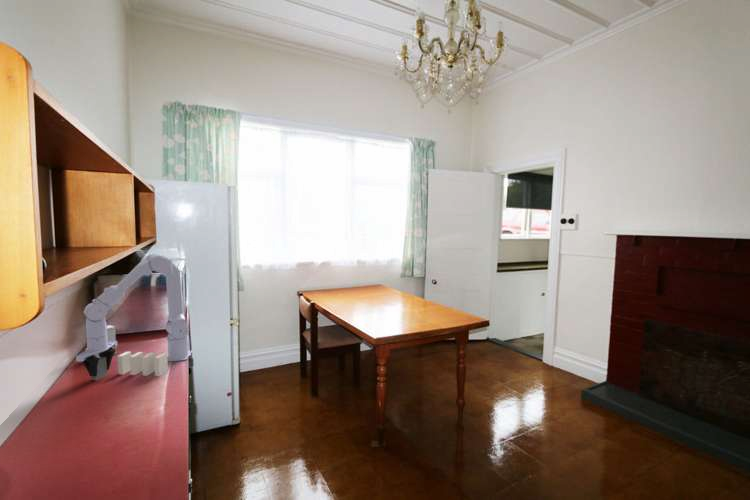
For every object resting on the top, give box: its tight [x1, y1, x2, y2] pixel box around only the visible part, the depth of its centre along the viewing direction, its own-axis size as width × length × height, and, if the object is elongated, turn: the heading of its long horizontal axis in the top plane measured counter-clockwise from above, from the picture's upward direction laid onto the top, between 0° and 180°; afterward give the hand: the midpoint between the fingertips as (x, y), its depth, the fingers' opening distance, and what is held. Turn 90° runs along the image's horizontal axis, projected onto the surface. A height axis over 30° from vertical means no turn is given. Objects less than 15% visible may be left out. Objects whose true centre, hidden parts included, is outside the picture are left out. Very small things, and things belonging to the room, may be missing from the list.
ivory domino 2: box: [129, 351, 144, 376], centre depth 126 cm, size 2×4×7 cm, turn 175°
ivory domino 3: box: [141, 352, 156, 377], centre depth 126 cm, size 2×4×7 cm, turn 175°
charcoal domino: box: [91, 357, 108, 382], centre depth 122 cm, size 2×4×7 cm, turn 175°
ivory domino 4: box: [154, 352, 169, 377], centre depth 126 cm, size 2×4×7 cm, turn 176°
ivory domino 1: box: [117, 351, 133, 376], centre depth 127 cm, size 2×4×7 cm, turn 175°
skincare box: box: [94, 324, 117, 358], centre depth 142 cm, size 6×4×12 cm
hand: (99, 372), depth 122 cm, fingers open, 4 cm apart
